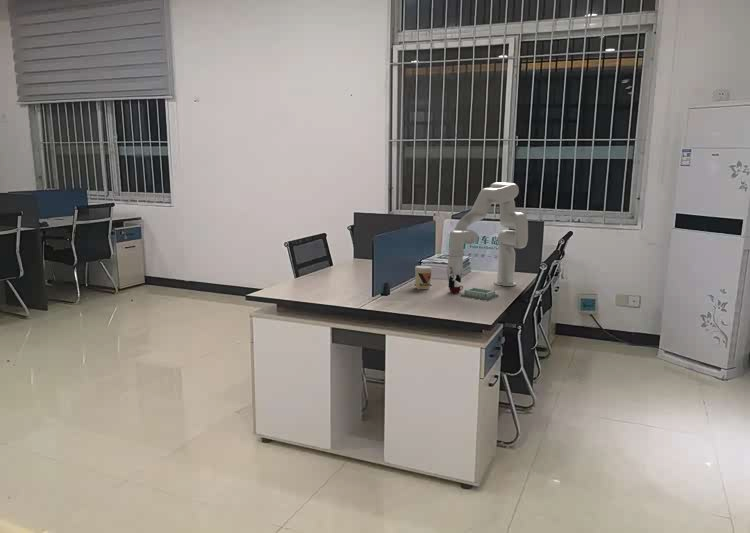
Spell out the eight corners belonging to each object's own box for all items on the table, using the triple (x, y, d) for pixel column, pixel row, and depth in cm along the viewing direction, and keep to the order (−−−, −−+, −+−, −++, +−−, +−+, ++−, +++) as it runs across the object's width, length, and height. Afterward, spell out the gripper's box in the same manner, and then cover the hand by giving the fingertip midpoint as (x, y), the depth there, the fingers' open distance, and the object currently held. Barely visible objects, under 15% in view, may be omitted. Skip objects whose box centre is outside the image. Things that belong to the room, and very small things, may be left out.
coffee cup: (417, 290, 314) (418, 268, 312) (411, 286, 323) (412, 265, 321) (433, 289, 317) (434, 268, 315) (427, 286, 325) (428, 265, 323)
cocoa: (462, 292, 314) (464, 270, 312) (462, 294, 308) (464, 272, 306) (445, 290, 316) (447, 268, 314) (444, 292, 309) (446, 270, 308)
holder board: (472, 292, 313) (472, 286, 313) (498, 296, 305) (498, 290, 304) (460, 296, 302) (460, 290, 301) (487, 301, 293) (487, 294, 293)
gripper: (457, 251, 317) (455, 283, 320) (441, 254, 303) (440, 288, 307) (469, 252, 313) (468, 285, 316) (454, 256, 299) (453, 290, 302)
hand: (454, 286), depth 311 cm, fingers closed on cocoa, 6 cm apart
